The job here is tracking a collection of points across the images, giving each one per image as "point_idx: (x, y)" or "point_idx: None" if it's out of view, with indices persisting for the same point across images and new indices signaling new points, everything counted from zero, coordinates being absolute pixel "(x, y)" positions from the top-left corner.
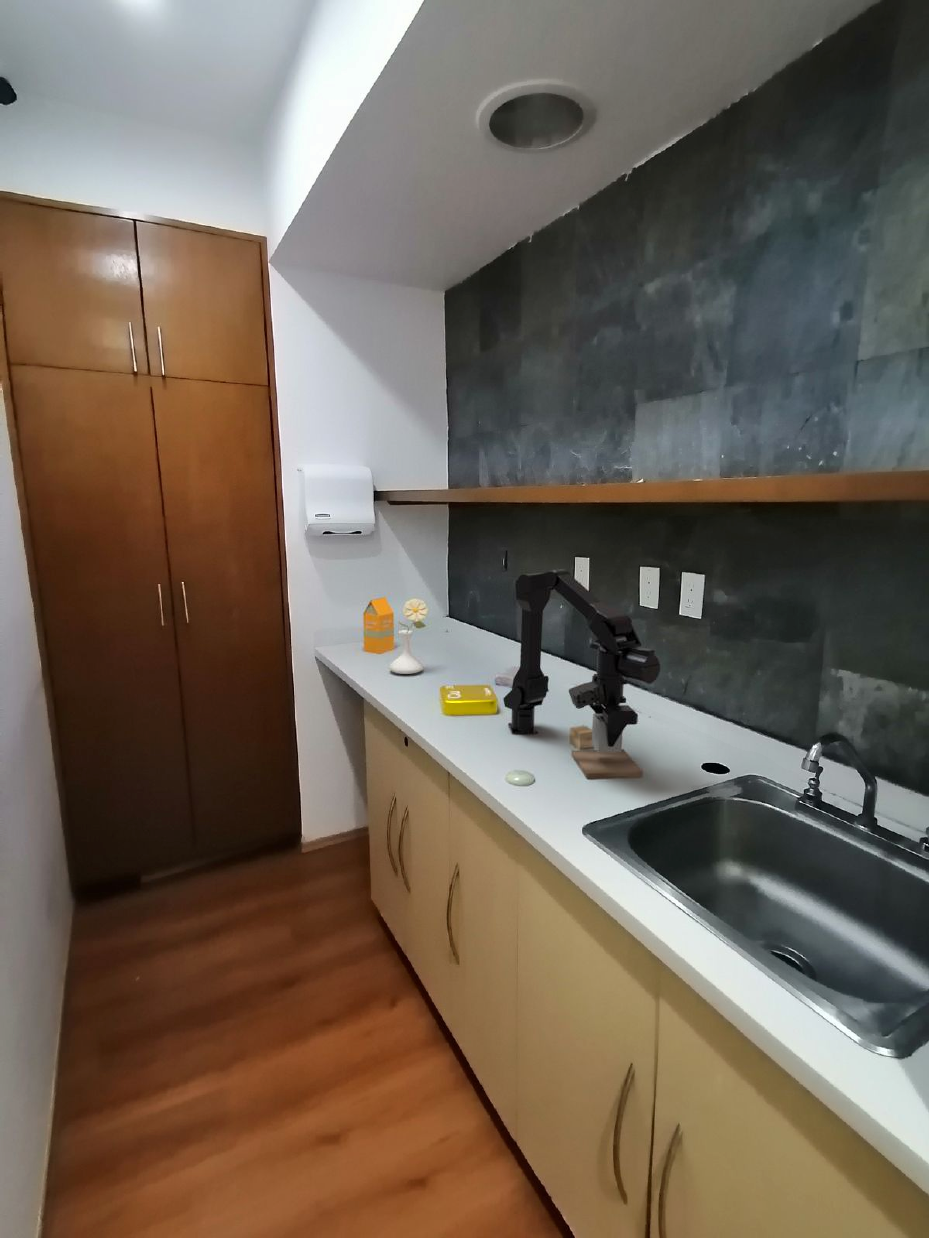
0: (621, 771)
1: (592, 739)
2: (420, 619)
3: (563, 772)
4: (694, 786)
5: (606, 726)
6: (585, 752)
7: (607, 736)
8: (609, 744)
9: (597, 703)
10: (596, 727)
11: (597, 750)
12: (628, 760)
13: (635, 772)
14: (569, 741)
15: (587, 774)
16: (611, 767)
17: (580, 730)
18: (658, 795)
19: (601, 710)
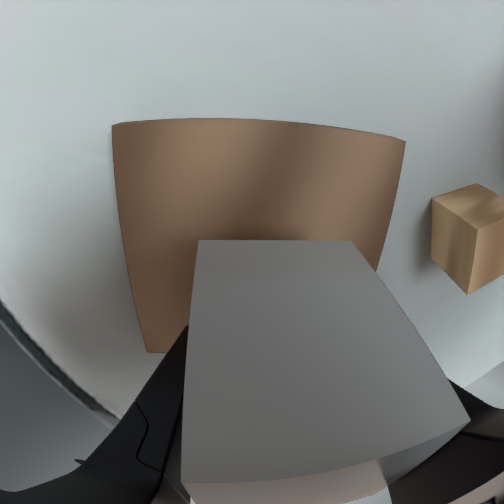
0: (138, 289)
1: (351, 260)
2: None
3: (208, 26)
4: (112, 404)
5: (141, 458)
6: (370, 198)
7: (165, 376)
8: (181, 338)
9: (497, 493)
10: (310, 365)
11: (224, 244)
12: None
13: (141, 330)
14: (481, 186)
15: (112, 127)
16: (179, 263)
17: (493, 242)
18: (39, 327)
19: (445, 470)
